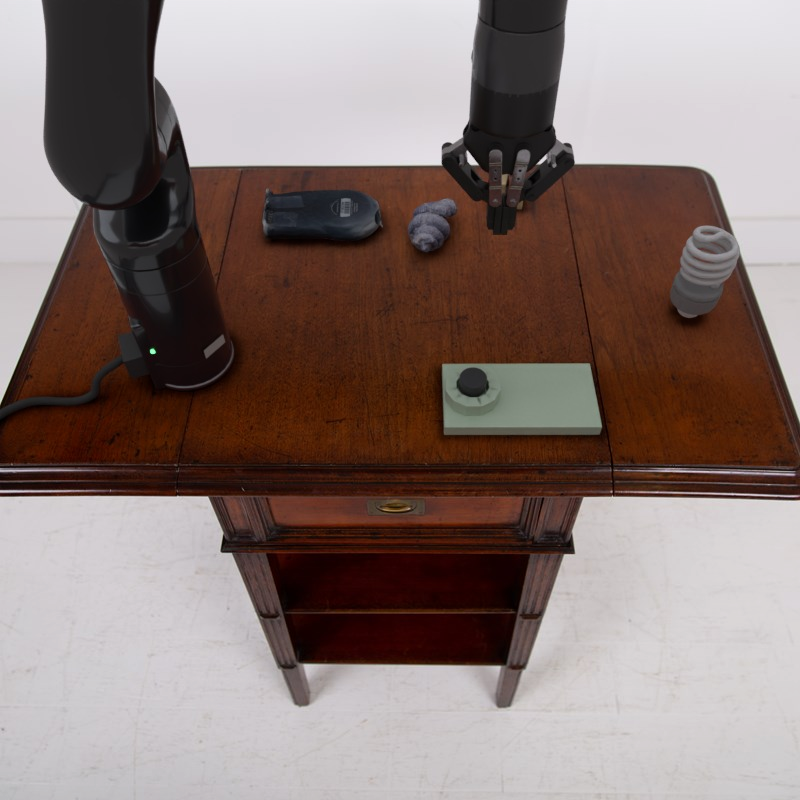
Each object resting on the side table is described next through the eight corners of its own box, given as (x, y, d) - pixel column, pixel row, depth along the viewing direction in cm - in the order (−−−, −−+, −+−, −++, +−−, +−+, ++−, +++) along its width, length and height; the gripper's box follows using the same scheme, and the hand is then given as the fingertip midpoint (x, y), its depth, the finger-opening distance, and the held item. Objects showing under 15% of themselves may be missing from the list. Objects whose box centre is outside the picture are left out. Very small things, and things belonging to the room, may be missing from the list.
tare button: (459, 397, 78) (460, 387, 77) (458, 376, 79) (459, 367, 78) (486, 397, 78) (487, 387, 76) (485, 376, 79) (486, 366, 78)
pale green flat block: (443, 435, 78) (444, 417, 76) (441, 371, 83) (442, 353, 81) (599, 435, 78) (605, 417, 75) (587, 371, 83) (592, 353, 81)
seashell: (434, 220, 102) (421, 272, 96) (410, 192, 99) (395, 243, 93) (466, 204, 98) (455, 256, 93) (442, 174, 95) (429, 226, 90)
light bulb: (715, 306, 89) (751, 224, 80) (706, 338, 86) (742, 257, 76) (667, 293, 91) (696, 211, 81) (656, 324, 87) (685, 242, 78)
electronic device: (268, 259, 97) (383, 242, 96) (256, 222, 94) (375, 203, 92) (275, 222, 104) (382, 205, 103) (264, 185, 100) (375, 167, 99)
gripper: (437, 90, 62) (434, 253, 76) (600, 90, 62) (568, 254, 75) (438, 45, 67) (435, 206, 80) (589, 45, 66) (561, 207, 80)
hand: (499, 229), depth 78 cm, fingers closed
